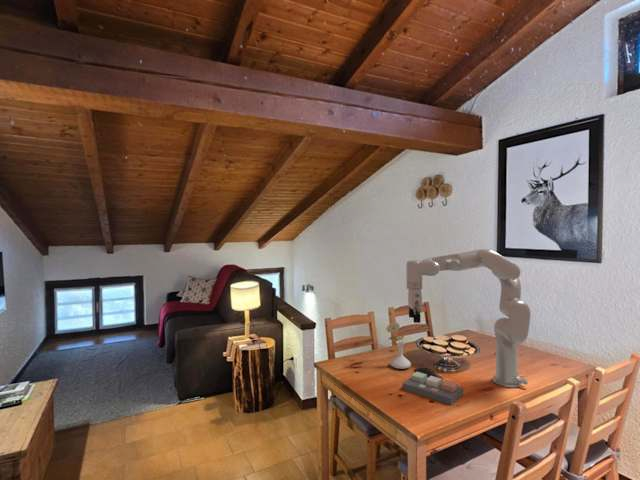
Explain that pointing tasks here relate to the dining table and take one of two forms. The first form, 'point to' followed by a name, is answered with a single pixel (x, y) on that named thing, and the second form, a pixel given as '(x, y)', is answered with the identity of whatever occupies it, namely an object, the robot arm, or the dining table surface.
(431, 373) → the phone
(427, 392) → the keypad
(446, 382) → the key terracotta
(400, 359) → the flower in vase
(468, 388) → the dining table surface
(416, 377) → the key sage
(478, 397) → the dining table surface
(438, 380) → the key cream
